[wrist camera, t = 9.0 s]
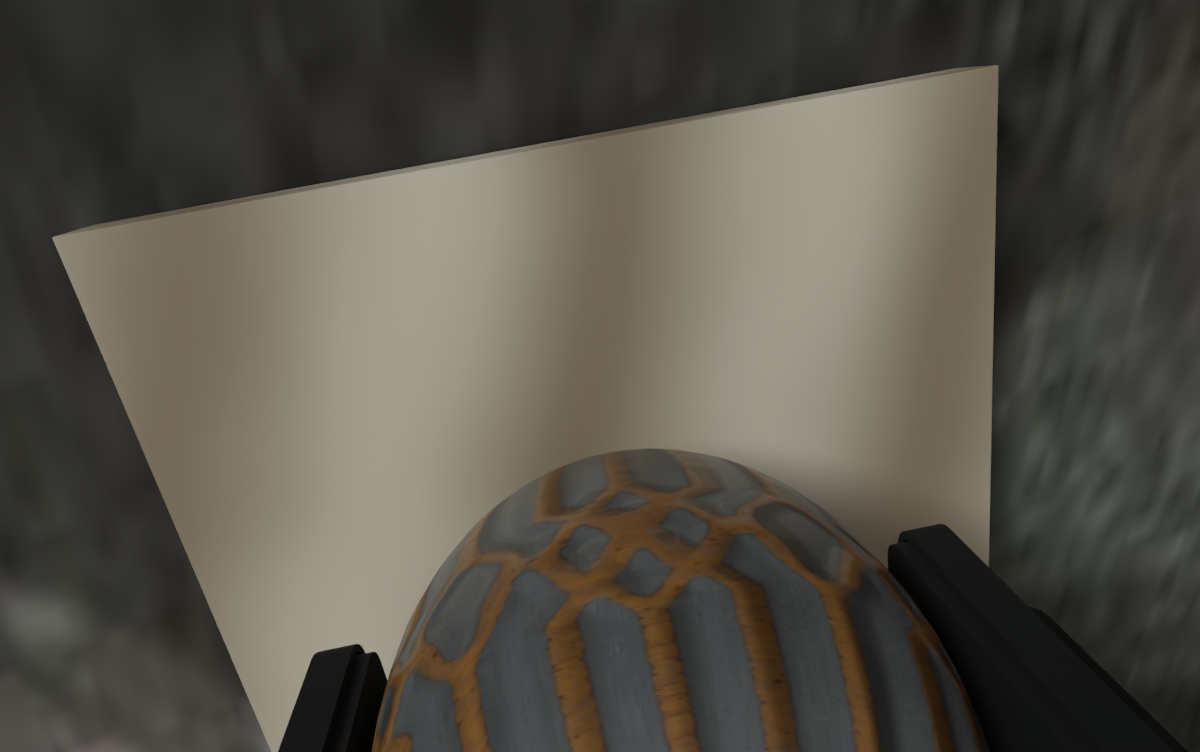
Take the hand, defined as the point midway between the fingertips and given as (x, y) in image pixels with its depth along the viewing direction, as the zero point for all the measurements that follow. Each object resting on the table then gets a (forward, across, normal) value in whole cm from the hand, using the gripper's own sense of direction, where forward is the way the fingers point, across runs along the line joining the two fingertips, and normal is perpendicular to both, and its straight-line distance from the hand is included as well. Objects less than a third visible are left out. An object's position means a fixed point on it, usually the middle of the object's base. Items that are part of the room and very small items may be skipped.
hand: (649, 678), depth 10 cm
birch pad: (+5, 0, 0) cm, 5 cm away
